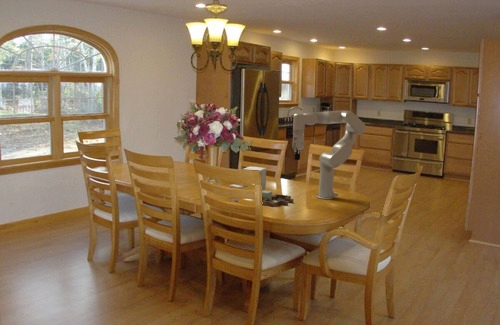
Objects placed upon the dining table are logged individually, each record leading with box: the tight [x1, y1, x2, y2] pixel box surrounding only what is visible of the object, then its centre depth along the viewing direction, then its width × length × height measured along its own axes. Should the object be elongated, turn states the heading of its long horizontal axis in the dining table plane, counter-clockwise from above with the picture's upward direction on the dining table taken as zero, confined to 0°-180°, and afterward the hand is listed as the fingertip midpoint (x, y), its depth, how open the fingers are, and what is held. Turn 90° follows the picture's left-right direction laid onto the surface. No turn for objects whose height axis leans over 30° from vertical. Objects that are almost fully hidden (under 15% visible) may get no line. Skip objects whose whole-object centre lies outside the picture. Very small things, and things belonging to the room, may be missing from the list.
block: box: [262, 189, 273, 202], centre depth 327 cm, size 6×6×6 cm
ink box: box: [228, 184, 243, 202], centre depth 315 cm, size 8×5×12 cm, turn 47°
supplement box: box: [241, 165, 267, 191], centre depth 349 cm, size 13×13×18 cm
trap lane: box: [261, 193, 294, 208], centre depth 324 cm, size 23×24×5 cm
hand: (297, 159), depth 329 cm, fingers closed
